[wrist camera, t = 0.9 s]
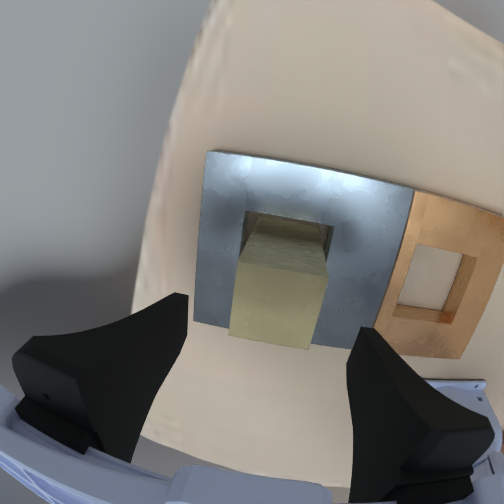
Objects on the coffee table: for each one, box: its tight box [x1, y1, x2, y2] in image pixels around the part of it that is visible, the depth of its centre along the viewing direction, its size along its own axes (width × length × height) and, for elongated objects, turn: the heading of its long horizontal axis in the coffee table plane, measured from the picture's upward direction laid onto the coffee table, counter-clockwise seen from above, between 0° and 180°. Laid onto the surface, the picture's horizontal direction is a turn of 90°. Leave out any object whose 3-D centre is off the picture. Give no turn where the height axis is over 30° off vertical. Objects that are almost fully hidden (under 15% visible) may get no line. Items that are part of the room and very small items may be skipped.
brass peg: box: [228, 216, 329, 350], centre depth 18 cm, size 4×4×8 cm
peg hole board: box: [193, 150, 504, 359], centre depth 20 cm, size 22×12×2 cm, turn 83°
